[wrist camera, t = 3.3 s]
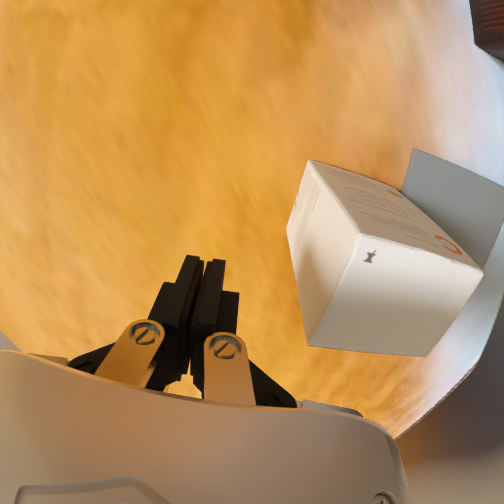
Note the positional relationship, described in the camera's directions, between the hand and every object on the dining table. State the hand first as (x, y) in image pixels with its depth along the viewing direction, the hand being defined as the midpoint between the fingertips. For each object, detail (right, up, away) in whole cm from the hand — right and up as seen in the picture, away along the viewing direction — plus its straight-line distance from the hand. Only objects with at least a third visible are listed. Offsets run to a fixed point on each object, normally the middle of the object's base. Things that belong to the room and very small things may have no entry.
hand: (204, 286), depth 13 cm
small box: (+9, +5, +11) cm, 15 cm away
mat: (+21, +3, +12) cm, 24 cm away
